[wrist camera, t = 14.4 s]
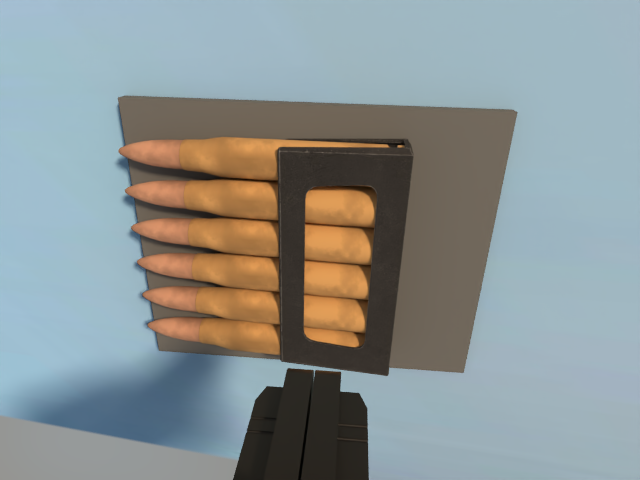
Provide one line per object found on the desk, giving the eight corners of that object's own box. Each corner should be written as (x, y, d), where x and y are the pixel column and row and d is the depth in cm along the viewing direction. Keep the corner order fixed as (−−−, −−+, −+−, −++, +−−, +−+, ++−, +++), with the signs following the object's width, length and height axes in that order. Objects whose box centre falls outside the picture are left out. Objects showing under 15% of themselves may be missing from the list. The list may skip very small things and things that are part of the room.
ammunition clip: (411, 138, 18) (126, 123, 19) (414, 149, 16) (102, 132, 17) (387, 351, 22) (158, 329, 24) (387, 377, 21) (141, 351, 22)
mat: (512, 109, 18) (517, 112, 17) (461, 364, 23) (463, 372, 23) (124, 95, 19) (117, 97, 18) (163, 343, 24) (159, 350, 24)
